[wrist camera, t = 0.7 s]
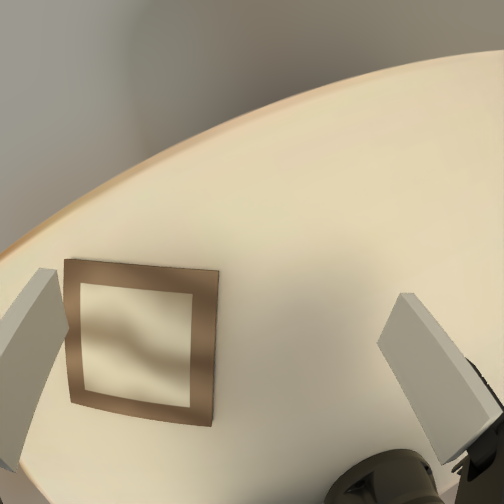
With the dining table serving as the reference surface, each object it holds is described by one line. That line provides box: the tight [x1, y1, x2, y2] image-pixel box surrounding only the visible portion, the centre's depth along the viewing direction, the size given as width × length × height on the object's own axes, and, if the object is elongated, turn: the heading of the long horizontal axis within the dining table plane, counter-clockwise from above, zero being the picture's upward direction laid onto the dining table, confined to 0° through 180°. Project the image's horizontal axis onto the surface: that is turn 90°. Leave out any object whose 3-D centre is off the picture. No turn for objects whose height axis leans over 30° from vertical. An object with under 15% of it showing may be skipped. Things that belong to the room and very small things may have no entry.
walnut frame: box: [63, 259, 219, 427], centre depth 29 cm, size 16×16×2 cm
